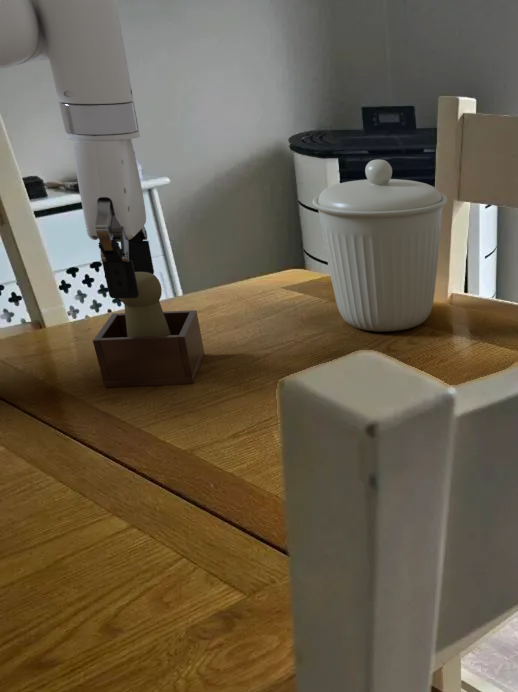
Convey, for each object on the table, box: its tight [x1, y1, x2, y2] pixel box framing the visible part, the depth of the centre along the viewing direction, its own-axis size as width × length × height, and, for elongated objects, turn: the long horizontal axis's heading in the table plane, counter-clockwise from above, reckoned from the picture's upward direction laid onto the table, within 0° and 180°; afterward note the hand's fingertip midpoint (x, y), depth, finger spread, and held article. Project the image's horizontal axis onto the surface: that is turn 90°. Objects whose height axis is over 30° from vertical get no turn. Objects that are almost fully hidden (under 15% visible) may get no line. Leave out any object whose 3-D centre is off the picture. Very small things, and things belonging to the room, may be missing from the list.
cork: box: [118, 272, 171, 337], centre depth 101 cm, size 6×6×11 cm
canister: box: [311, 159, 448, 333], centre depth 114 cm, size 18×18×21 cm
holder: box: [92, 309, 205, 389], centre depth 103 cm, size 11×11×6 cm
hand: (133, 285), depth 99 cm, fingers open, 9 cm apart
